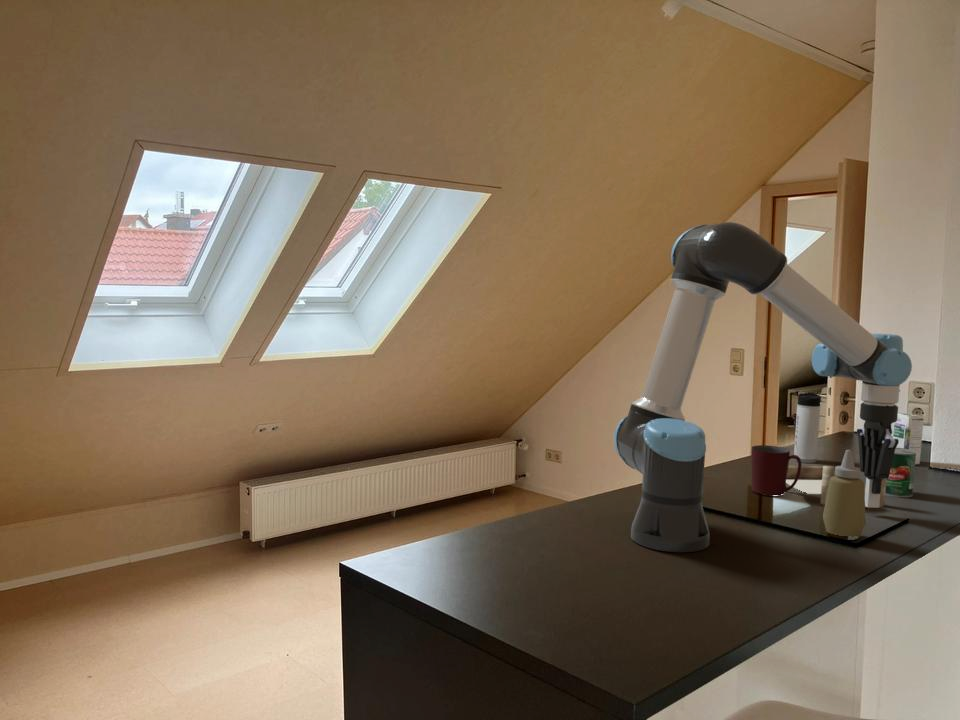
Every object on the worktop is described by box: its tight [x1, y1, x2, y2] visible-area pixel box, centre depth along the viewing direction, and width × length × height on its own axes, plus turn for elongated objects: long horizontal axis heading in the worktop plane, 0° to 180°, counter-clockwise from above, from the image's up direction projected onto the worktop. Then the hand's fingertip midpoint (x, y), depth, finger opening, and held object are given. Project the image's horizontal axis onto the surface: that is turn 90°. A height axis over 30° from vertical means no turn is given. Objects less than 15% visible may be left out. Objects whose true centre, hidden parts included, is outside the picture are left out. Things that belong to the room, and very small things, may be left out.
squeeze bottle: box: [822, 449, 866, 537], centre depth 162 cm, size 8×8×18 cm
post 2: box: [879, 479, 886, 508], centre depth 188 cm, size 3×3×9 cm
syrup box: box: [892, 412, 925, 465], centre depth 235 cm, size 6×6×14 cm
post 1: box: [820, 465, 836, 503], centre depth 187 cm, size 3×3×9 cm
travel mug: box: [793, 392, 822, 464], centre depth 234 cm, size 6×7×20 cm
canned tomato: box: [885, 448, 916, 498], centre depth 199 cm, size 8×8×11 cm
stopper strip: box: [786, 465, 824, 480], centre depth 213 cm, size 16×2×3 cm, turn 93°
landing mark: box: [786, 479, 822, 495], centre depth 204 cm, size 14×14×1 cm
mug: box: [750, 444, 802, 495], centre depth 195 cm, size 12×9×11 cm
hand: (871, 506), depth 180 cm, fingers closed
